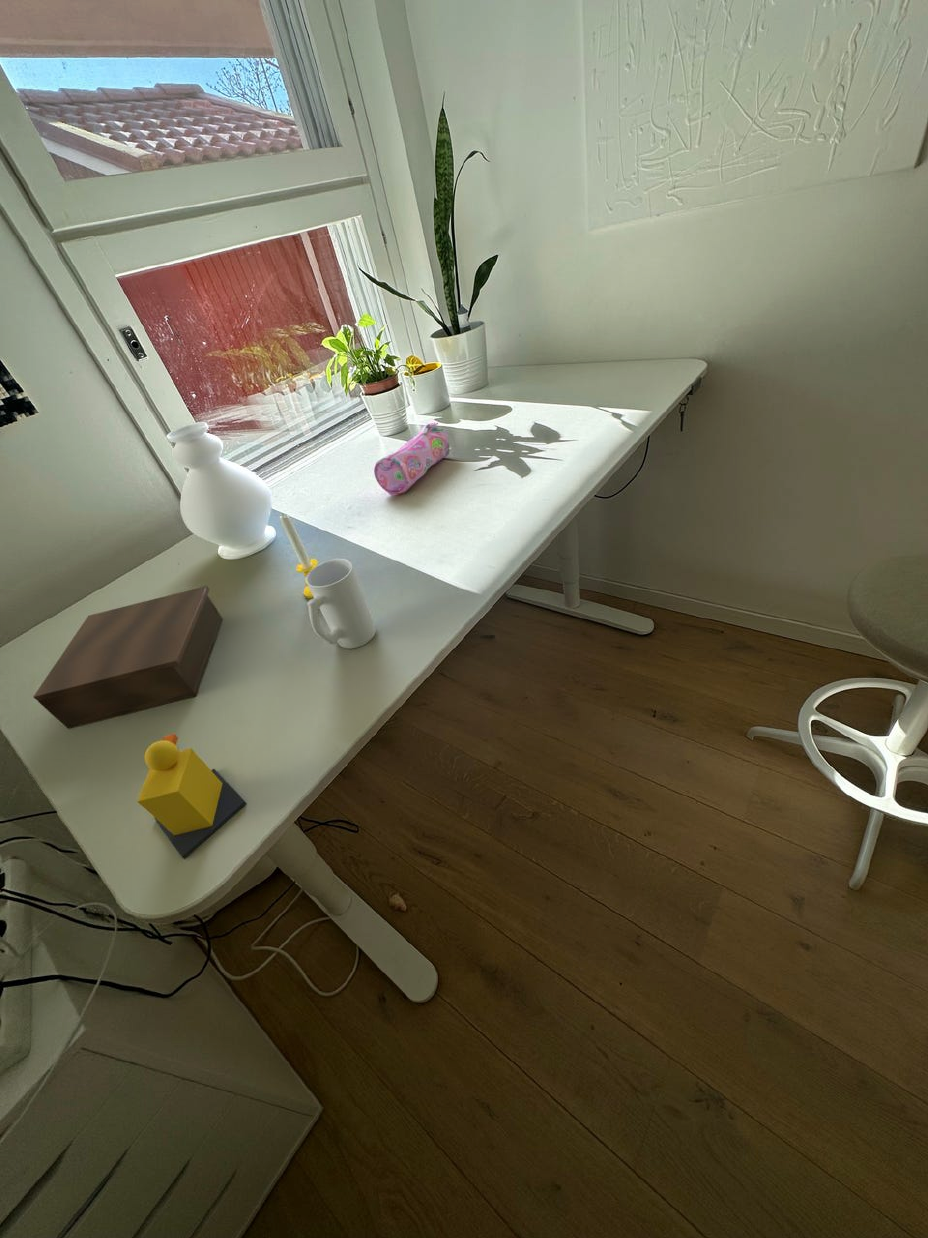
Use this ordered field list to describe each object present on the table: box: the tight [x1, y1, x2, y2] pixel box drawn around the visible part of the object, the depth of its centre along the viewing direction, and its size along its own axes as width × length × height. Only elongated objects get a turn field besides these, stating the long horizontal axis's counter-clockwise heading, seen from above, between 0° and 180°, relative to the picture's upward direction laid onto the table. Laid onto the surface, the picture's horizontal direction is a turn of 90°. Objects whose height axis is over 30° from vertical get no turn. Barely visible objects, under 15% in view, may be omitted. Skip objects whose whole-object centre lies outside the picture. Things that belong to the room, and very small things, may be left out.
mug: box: [305, 558, 377, 649], centre depth 76 cm, size 10×7×12 cm, turn 156°
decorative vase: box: [166, 421, 277, 560], centre depth 105 cm, size 18×18×25 cm
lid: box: [32, 585, 210, 701], centre depth 80 cm, size 21×19×1 cm
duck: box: [136, 733, 222, 835], centre depth 58 cm, size 4×7×10 cm, turn 9°
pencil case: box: [373, 422, 451, 496], centre depth 119 cm, size 21×9×9 cm, turn 151°
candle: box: [278, 513, 319, 600], centre depth 88 cm, size 5×5×16 cm
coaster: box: [153, 768, 247, 860], centre depth 61 cm, size 8×8×1 cm
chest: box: [37, 594, 224, 729], centre depth 82 cm, size 20×19×6 cm
